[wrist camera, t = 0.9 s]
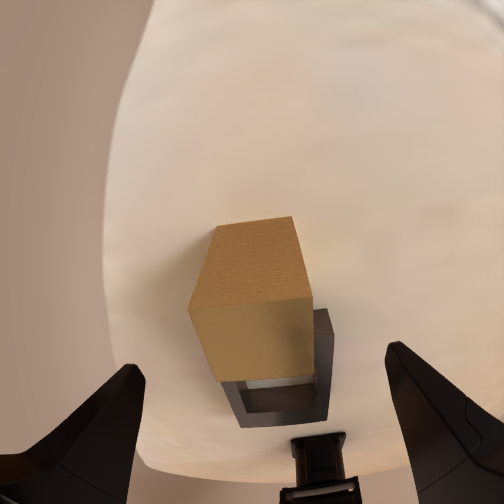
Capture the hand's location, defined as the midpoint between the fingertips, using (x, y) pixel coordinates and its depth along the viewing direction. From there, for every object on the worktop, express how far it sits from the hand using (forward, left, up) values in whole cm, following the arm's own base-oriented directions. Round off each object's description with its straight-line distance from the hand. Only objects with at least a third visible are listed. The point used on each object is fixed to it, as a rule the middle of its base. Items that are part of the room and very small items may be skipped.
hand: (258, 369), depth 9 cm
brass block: (0, 0, -8) cm, 8 cm away
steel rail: (-10, 0, -8) cm, 13 cm away
